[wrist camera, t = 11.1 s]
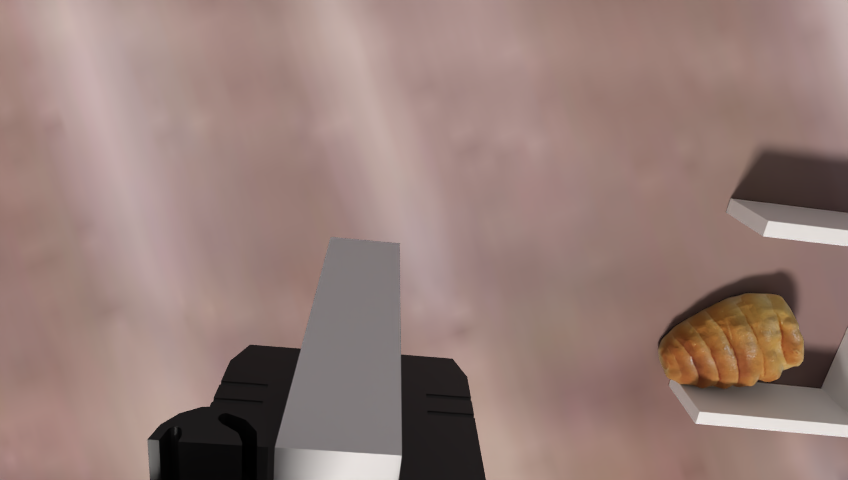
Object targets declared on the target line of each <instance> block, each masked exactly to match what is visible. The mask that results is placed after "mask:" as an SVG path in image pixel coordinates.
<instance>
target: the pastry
mask: <svg viewBox="0 0 848 480" xmlns="http://www.w3.org/2000/svg"><path fill="white" fill-rule="evenodd" d="M658 354H659V360H660V362H661V365H662V367H663V369H664V372H665V374H666V376H667V377H668V378H669V379H671V380H673V381H676V382H677V383H679V384H685V385H694V386H697V387H699V388H706V387H709V386H715V387H718V388H722V389H727V388H729V387H731V386H732V385H733V386H736V387H744V386H753V385H754V384H755V383H756V382H757V380H761V381H764V382H771V381H774V380H777V379H779V377H780V376H781V373H782V371H783V370H785V369H789V368H791V367H793V366H799V365H800V364H801V363H802V362H803V359H804V340H803V337H802V335H801V333H800V331H799V325H798V323H797V320H796V318H795V316H794V315H793V313H792V311H791V309H790V307H789V306H788V305H787V303H786V302H785V300H784V299H783V298H782V297H781V296H779V295H775V294H760V293H745V294H742V295H739V296H735V297H729V298H727V299H725V300H723V301H721V302H718V303H715V304H714V305H712V306H711V307H708V308H706V309H704V310H702V311H701V312H699V313H697V314H695V315H693V316H692V317H690V318H688V319H686V320H684V321H683V322H681V323H679V324H678V325H676V326H675V327H673V329H672V330H671V331H670V332H669V333H668V334H667V335H666V336H665V337H664V338H663V339H662V340H661V342H660V345H659V347H658Z"/></svg>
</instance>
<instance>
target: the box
mask: <svg viewBox="0 0 848 480" xmlns="http://www.w3.org/2000/svg"><path fill="white" fill-rule="evenodd" d="M726 213H728V214H729V215H731V216H732V217H734V218H736V219H737V220H739V221H740V222H742V223H743V224H745V225H746V226H748V227H749V228H751V229H752V230H754V231H756V232H757V233H759V234H760V235H762V236H765V237H774V238H782V239H791V240H799V241H808V242H816V243H825V244H833V245H841V246H848V213H846V212H838V211H829V210H821V209H813V208H805V207H797V206H789V205H781V204H773V203H764V202H756V201H748V200H740V199H732V198H731V199H730V202H729V205H728V208H727V211H726ZM669 387H670V388H671V389H672V391H673V392H674V394H675V395H676V397H677V398H678V399H679V401H680V402H681V404H682V405H683V407H684V408H685V409H686V411H687V412H688V414H689V415H690V417H691V418H692V419H693V421H694V422H695V424H706V425H717V426H728V427H739V428H750V429H762V430H773V431H784V432H795V433H806V434H817V435H829V436H840V437H848V328H847V330H846V333H845V335H844V337H843V339H842V342H841V344H840V346H839V349H838V351H837V353H836V355H835V358H834V360H833V362H832V365H831V367H830V369H829V371H828V374H827V376H826V378H825V380H824V383H823V385H822V387H821V389H820V388H810V387H800V386H789V385H779V384H768V383H758V382H756V383H755V384H754V385H753V386H744V387H736V386H733V385H732V386H731V387H729V388H727V389H722V388H718V387H715V386H709V387H706V388H699V387H697V386H694V385H685V384H679V383H677V382H676V381H673V380H670V383H669Z"/></svg>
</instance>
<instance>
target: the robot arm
mask: <svg viewBox="0 0 848 480" xmlns="http://www.w3.org/2000/svg"><path fill="white" fill-rule="evenodd" d="M148 455H149V471H150V480H486V479H485V473H484V467H483V462H482V456H481V451H480V445H479V440H478V434H477V429H476V423H475V418H474V412H473V407H472V401H471V396H470V390H469V385H468V379H467V376H466V375H465V374H464V372H463V371H462V370H461V369H460V368H459V366H458V365H457V364H456V363H455V361H454V360H453V359H449V358H437V357H424V356H411V355H401V329H400V243H391V242H380V241H370V240H359V239H348V238H338V237H331V238H330V242H329V245H328V249H327V253H326V257H325V260H324V264H323V268H322V272H321V276H320V279H319V283H318V287H317V291H316V294H315V298H314V302H313V306H312V309H311V313H310V317H309V321H308V324H307V328H306V332H305V336H304V339H303V343H302V347H301V349H297V348H284V347H272V346H259V345H249V346H248V347H247V348H246V349H244V350H243V351H242V352H241V353H239V354H238V355H237V356H236V357H234V358H233V359H232V360H231V361H230V363H229V365H228V367H227V369H226V372H225V374H224V376H223V378H222V381H221V385H219V387H218V389H217V392H216V394H215V396H214V401H213V402H212V403H211V405H210V407H200V408H197V409H193V410H190V411H186V412H183V413H179V414H178V415H176V416H174V417H173V418H171V419H169V420H167V421H166V422H164V423H162V424H161V425H160V426H159V427H158V428H157V429H156V430H155V431H154V433H153V434H152V435H151V436H150V437H149V438H148Z"/></svg>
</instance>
